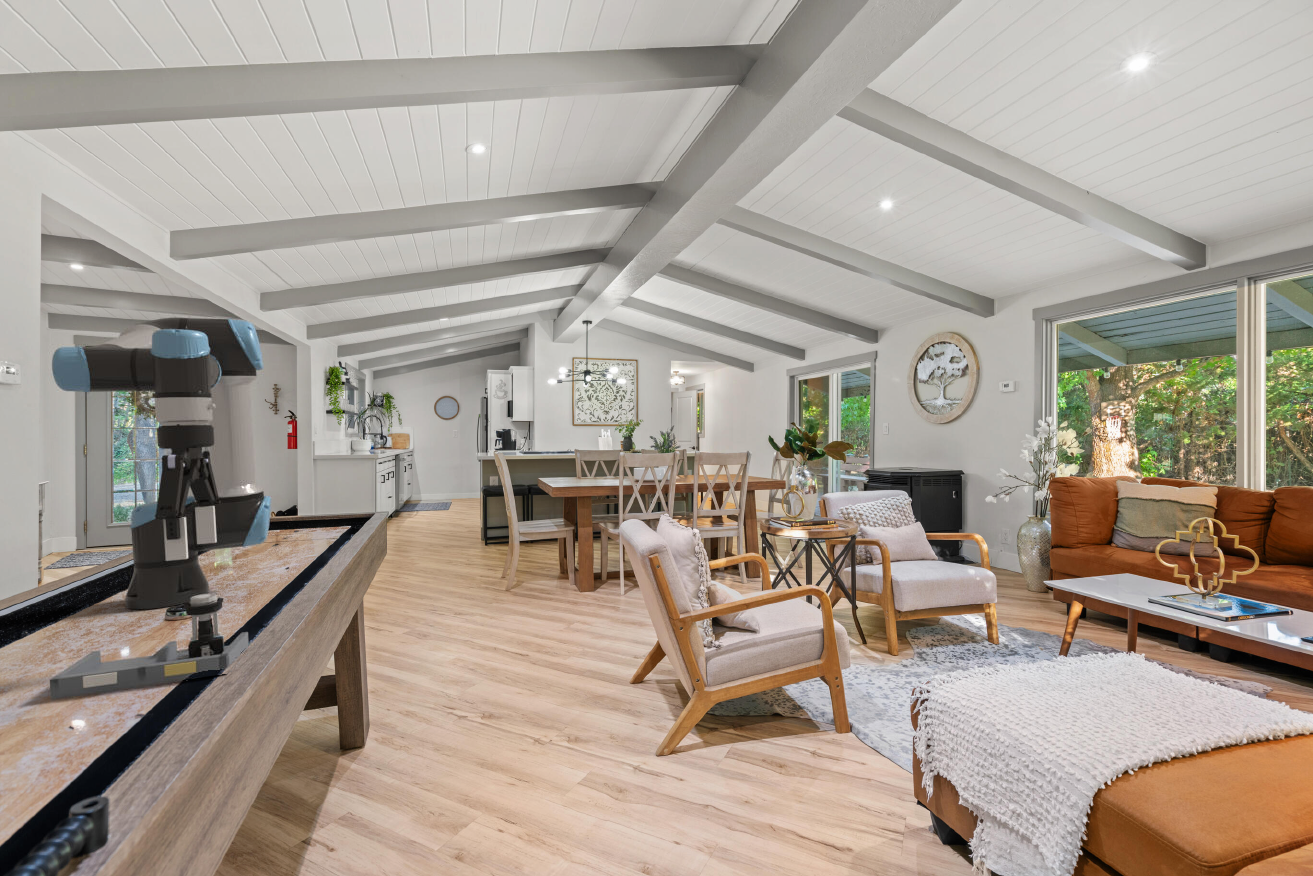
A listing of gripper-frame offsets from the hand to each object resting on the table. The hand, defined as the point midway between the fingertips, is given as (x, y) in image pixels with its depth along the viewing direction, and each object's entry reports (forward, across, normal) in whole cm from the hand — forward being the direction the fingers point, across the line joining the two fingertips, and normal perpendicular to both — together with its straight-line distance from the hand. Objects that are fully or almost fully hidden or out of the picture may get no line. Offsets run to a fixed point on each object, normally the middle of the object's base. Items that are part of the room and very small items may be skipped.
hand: (193, 551), depth 103 cm
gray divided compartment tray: (+19, -3, +5) cm, 19 cm away
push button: (+18, -1, -1) cm, 18 cm away
